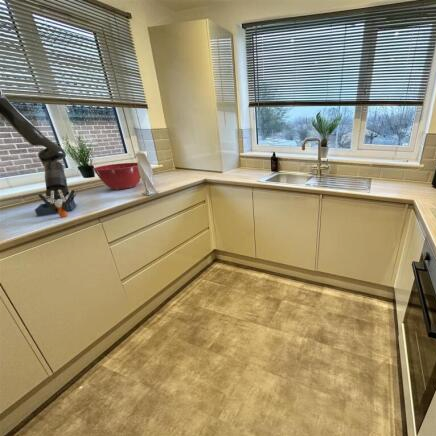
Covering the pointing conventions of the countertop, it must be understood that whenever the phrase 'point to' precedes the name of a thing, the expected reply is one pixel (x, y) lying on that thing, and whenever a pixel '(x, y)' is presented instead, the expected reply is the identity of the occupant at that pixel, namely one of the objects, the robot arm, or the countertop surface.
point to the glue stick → (60, 209)
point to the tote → (47, 210)
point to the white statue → (146, 173)
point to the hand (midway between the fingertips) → (60, 210)
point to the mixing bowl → (119, 175)
